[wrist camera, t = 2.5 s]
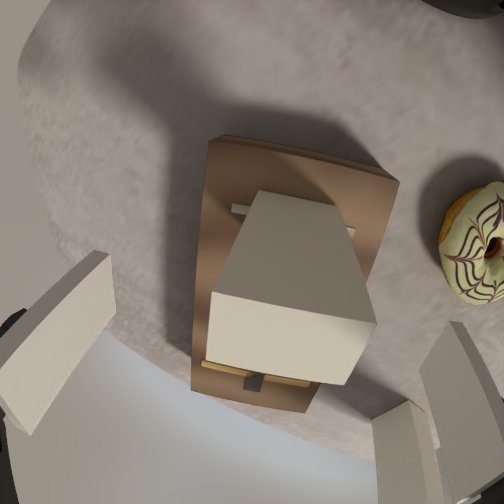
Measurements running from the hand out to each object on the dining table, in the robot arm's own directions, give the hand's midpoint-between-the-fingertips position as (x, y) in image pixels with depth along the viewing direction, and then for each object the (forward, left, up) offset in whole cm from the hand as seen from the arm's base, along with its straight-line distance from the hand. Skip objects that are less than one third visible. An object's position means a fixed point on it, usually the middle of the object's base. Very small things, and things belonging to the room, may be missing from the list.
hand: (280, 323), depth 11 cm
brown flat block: (+8, 0, -14) cm, 16 cm away
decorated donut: (-1, +18, -14) cm, 23 cm away
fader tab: (0, 0, -10) cm, 10 cm away
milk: (+25, +21, -14) cm, 36 cm away
